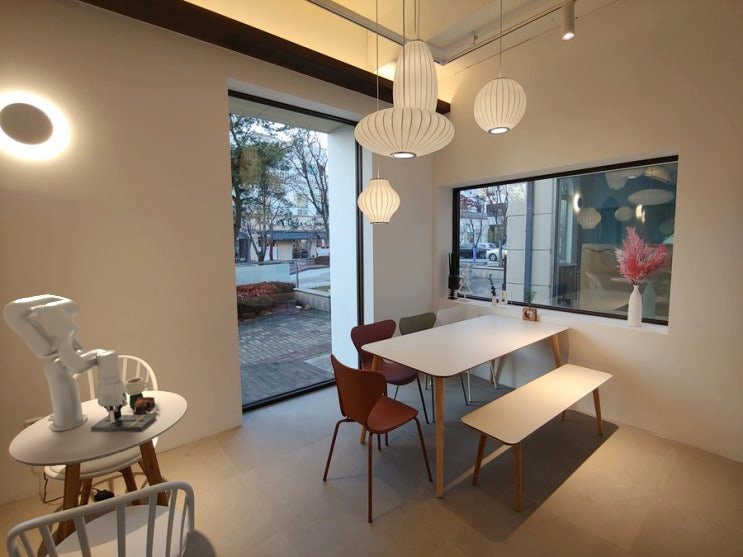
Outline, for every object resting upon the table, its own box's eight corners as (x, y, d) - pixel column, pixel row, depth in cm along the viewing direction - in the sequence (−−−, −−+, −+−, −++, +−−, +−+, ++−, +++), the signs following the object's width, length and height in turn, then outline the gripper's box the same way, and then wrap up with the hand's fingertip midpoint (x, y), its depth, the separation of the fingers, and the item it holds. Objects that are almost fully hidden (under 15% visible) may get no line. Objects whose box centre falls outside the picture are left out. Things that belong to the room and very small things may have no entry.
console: (91, 431, 152) (90, 426, 152) (109, 419, 162) (108, 414, 162) (141, 431, 152) (140, 426, 151) (156, 418, 161) (155, 414, 161)
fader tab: (110, 422, 155) (109, 411, 154) (117, 417, 159) (116, 406, 158) (114, 422, 155) (112, 411, 154) (120, 417, 159) (119, 406, 158)
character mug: (150, 399, 181) (147, 375, 179) (150, 405, 175) (147, 380, 173) (124, 405, 175) (121, 380, 173) (123, 411, 169) (120, 385, 167)
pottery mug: (126, 417, 165) (129, 398, 168) (146, 416, 173) (148, 399, 176) (144, 414, 161) (147, 395, 164) (163, 414, 169) (165, 396, 172)
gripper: (85, 383, 151) (91, 423, 153) (121, 382, 150) (126, 423, 153) (99, 375, 158) (105, 414, 161) (134, 375, 158) (138, 414, 160)
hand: (115, 418), depth 157 cm, fingers closed on fader tab
